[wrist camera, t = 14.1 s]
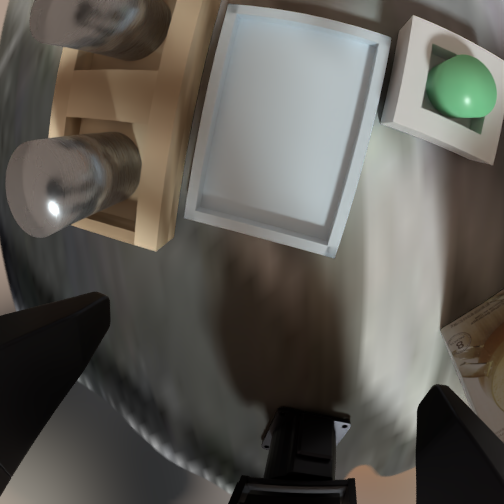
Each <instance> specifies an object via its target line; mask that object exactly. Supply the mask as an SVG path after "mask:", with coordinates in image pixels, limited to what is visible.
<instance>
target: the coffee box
mask: <svg viewBox="0 0 504 504" xmlns="http://www.w3.org/2000/svg"><path fill="white" fill-rule="evenodd" d="M440 331H441V335H442V337H443V339H444V342H445V344H446V346H447V349H448V352H449V354H450V357H451V359H452V362H453V364H454V367H455V370H456V372H457V375H458V377H459V380H460V382H461V385H462V387H463V390H464V392H465V395H466V398H467V400H468V403H469V405H470V408H471V410H472V411H473V412H474V413H475V414H476V415H477V416H478V417H479V418H480V419H481V420H482V421H483V422H484V423H485V424H486V425H487V426H488V427H489V428H490V429H491V430H492V431H493V432H494V433H495V434H496V436H497V437H498V438H499V439H500V440H501V441H502V442H503V443H504V289H503V290H502V291H500V292H499V293H497V294H496V295H494V296H493V297H491V298H490V299H488V300H487V301H485V302H484V303H482V304H481V305H479V306H478V307H476V308H474V309H473V310H471V311H470V312H468V313H467V314H465V315H463V316H462V317H460V318H458V319H457V320H455V321H453V322H452V323H450V324H448V325H447V326H445V327H443V328H442V329H441V330H440Z"/></svg>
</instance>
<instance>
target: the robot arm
mask: <svg viewBox="0 0 504 504" xmlns="http://www.w3.org/2000/svg"><path fill="white" fill-rule="evenodd" d="M109 326H110V300H109V297H108V296H106V295H104V294H101V293H99V292H91V293H87V294H83V295H79V296H76V297H72V298H68V299H64V300H60V301H56V302H52V303H48V304H44V305H40V306H36V307H33V308H29V309H25V310H21V311H17V312H13V313H9V314H5V315H2V316H0V496H1V494H2V493H3V491H4V489H5V488H6V486H7V484H8V483H9V481H10V479H11V477H12V476H13V474H14V472H15V471H16V469H17V468H18V466H19V465H20V463H21V461H22V460H23V458H24V457H25V455H26V454H27V452H28V451H29V449H30V448H31V446H32V444H33V443H34V441H35V440H36V438H37V437H38V435H39V434H40V432H41V431H42V429H43V428H44V426H45V425H46V424H47V422H48V421H49V419H50V418H51V416H52V415H53V413H54V412H55V410H56V409H57V408H58V406H59V405H60V403H61V402H62V400H63V399H64V397H65V396H66V395H67V393H68V392H69V391H70V389H71V388H72V386H73V385H74V384H75V382H76V381H77V380H78V378H79V377H80V375H81V374H82V373H83V371H84V370H85V368H86V366H87V365H88V363H89V361H90V360H91V358H92V356H93V354H94V353H95V351H96V349H97V347H98V346H99V344H100V342H101V341H102V339H103V337H104V336H105V334H106V332H107V331H108V329H109ZM282 412H283V413H282ZM350 426H351V423H350V421H349V420H346V419H340V418H334V417H329V416H323V415H318V414H313V413H308V412H304V411H299V410H294V409H290V408H286V407H280V408H278V410H277V412H276V414H275V416H274V419H273V421H272V423H271V425H270V427H269V429H268V431H267V433H266V436H265V438H264V440H263V442H262V446H261V447H262V448H263V449H266V450H269V454H268V459H267V464H266V468H265V473H264V478H256V477H249V476H246V475H242V476H241V478H240V481H239V483H238V482H237V484H236V487H235V489H234V491H233V494H232V496H231V498H230V501H229V503H228V504H357V500H356V487H355V478H348V479H347V480H335V468H336V446H337V444H338V443H339V442H340V440H341V439H342V438H343V436H344V435H345V434H346V432H347V431H348V430H349V428H350ZM416 494H417V495H416V504H504V443H503V442H502V441H501V440H500V439H499V438H498V437H497V436H496V434H495V433H494V432H493V431H492V430H491V429H490V428H489V427H488V426H487V425H486V424H485V423H484V422H483V421H482V420H481V419H480V418H479V417H478V416H477V415H476V414H475V413H474V412H473V411H472V410H471V409H470V408H469V407H468V406H467V405H466V404H465V403H464V402H463V401H462V400H461V399H460V398H459V397H458V396H457V395H456V394H455V393H454V392H453V391H452V390H451V389H450V388H449V387H448V386H446V385H440V384H436V385H434V386H432V387H431V389H430V390H429V392H428V393H427V394H426V396H425V397H424V398H423V400H422V401H421V402H420V404H419V406H418V409H417V437H416Z"/></svg>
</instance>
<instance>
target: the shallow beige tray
mask: <svg viewBox="0 0 504 504" xmlns="http://www.w3.org/2000/svg"><path fill="white" fill-rule="evenodd" d="M163 1H164V2H165V3H166V4H167V5H168V7H169V9H170V11H171V16H172V19H171V22H170V26H169V30H168V33H167V37H166V38H165V40H164V41H163V43H162V44H161V45H160V46H159V47H158V48H157V49H156V50H155V51H154V52H153V53H151V54H150V55H148V56H147V57H145V58H142V59H140V60H136V61H124V60H120V59H116V58H112V57H108V56H104V55H100V54H95V53H91V52H87V51H82V50H77V49H72V48H67V47H63V51H62V56H61V60H60V65H59V70H58V75H57V80H56V86H55V92H54V98H53V105H52V112H51V120H50V128H49V138H54V137H62V136H70V135H79V134H90V133H101V132H119V133H122V134H124V135H126V136H128V137H129V138H130V139H131V140H132V141H133V142H134V144H135V145H136V147H137V148H138V150H139V153H140V156H141V161H142V168H141V176H140V183H139V185H138V187H137V189H136V191H135V192H134V193H133V194H132V195H131V196H130V197H129V198H128V199H126V200H124V201H122V202H120V203H117V204H115V205H113V206H111V207H108V208H106V209H104V210H102V211H99V212H97V213H95V214H93V215H90V216H88V217H86V218H84V219H82V220H80V221H78V222H75V223H73V224H71V225H72V226H75V227H79V228H82V229H85V230H88V231H91V232H94V233H98V234H101V235H104V236H107V237H110V238H114V239H117V240H120V241H123V242H127V243H130V244H133V245H136V246H140V247H143V248H146V249H150V250H153V251H157V250H159V249H160V248H161V247H162V246H163V245H165V244H166V243H167V242H168V241H170V240H171V239H172V238H173V237H174V232H175V224H176V217H177V210H178V203H179V196H180V189H181V183H182V177H183V170H184V164H185V159H186V153H187V147H188V142H189V136H190V131H191V126H192V120H193V115H194V110H195V106H196V101H197V96H198V91H199V87H200V82H201V78H202V73H203V69H204V65H205V60H206V56H207V52H208V48H209V44H210V40H211V36H212V32H213V28H214V25H215V21H216V17H217V14H218V10H219V6H220V3H221V0H163Z"/></svg>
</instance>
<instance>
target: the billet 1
mask: <svg viewBox="0 0 504 504" xmlns="http://www.w3.org/2000/svg"><path fill="white" fill-rule="evenodd" d="M171 19H172V16H171V11H170V9H169V7H168V5H167V4H166V3H165V2H164V1H163V0H35V1H34V3H33V6H32V9H31V14H30V30H31V33H32V35H33V37H34V38H35V39H36V40H37V41H38V42H41V43H45V44H51V45H56V46H62V47H67V48H72V49H77V50H82V51H87V52H91V53H95V54H100V55H104V56H108V57H112V58H116V59H120V60H124V61H136V60H140V59H142V58H145V57H147V56H148V55H150V54H151V53H153V52H154V51H155V50H156V49H157V48H158V47H159V46H160V45H161V44H162V43H163V41H164V40H165V38H166V37H167V33H168V30H169V26H170V22H171Z"/></svg>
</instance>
